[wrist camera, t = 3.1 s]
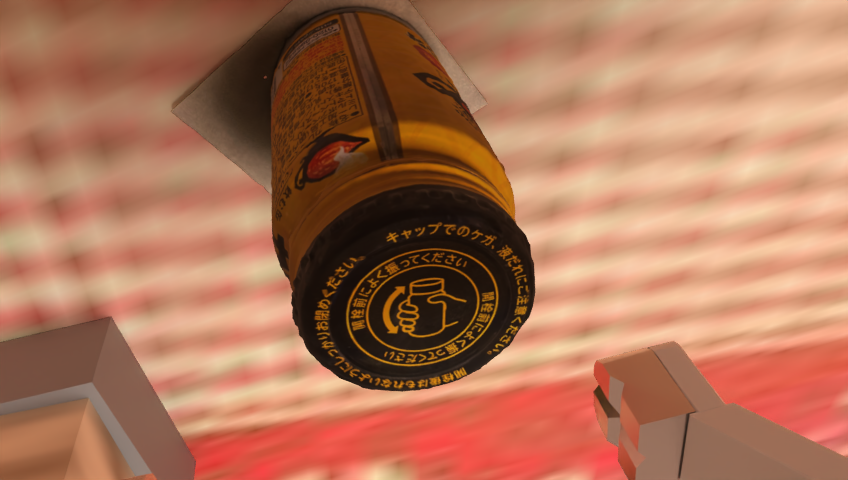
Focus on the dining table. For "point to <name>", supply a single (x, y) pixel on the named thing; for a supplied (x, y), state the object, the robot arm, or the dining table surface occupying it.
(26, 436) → the tower block upper
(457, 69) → the condiment
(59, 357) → the tower block lower
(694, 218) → the dining table surface
